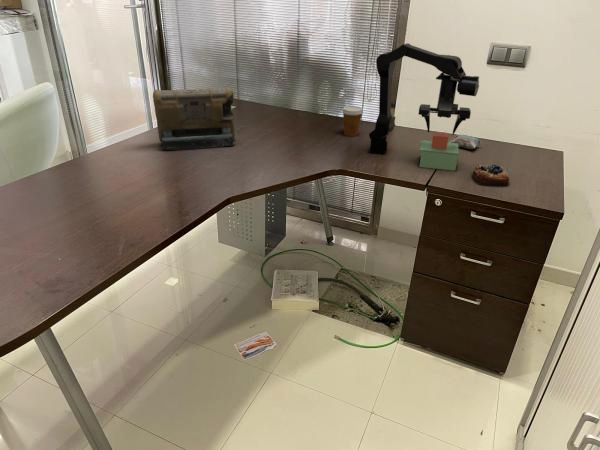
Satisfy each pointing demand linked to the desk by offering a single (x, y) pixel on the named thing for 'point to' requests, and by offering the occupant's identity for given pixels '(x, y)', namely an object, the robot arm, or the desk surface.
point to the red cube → (440, 140)
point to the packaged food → (466, 141)
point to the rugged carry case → (194, 118)
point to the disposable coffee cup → (352, 120)
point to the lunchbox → (438, 161)
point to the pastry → (490, 175)
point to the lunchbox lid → (451, 149)
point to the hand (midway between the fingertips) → (440, 133)
